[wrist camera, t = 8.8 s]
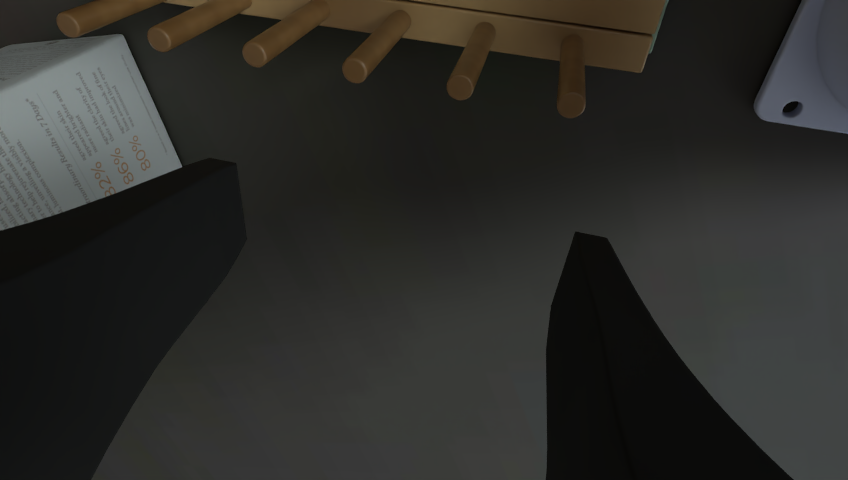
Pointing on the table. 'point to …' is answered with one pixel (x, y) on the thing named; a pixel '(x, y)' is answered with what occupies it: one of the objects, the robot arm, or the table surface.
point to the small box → (74, 126)
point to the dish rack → (422, 32)
